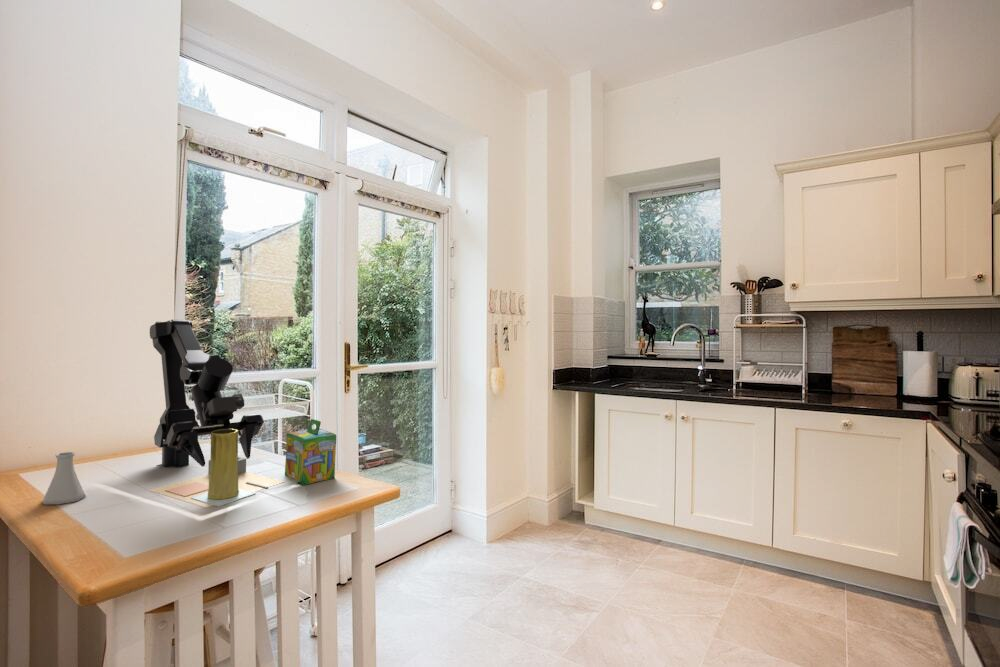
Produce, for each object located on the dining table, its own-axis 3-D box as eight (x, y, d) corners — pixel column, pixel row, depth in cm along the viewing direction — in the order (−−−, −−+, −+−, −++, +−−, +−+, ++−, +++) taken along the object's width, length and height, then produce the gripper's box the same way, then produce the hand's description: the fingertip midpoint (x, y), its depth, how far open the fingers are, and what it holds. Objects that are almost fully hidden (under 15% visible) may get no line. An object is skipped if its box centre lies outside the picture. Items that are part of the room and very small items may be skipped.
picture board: (149, 493, 115) (149, 489, 115) (230, 471, 133) (230, 467, 133) (211, 512, 105) (211, 507, 105) (289, 485, 123) (289, 481, 123)
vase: (201, 499, 110) (202, 433, 109) (217, 489, 116) (218, 427, 115) (229, 500, 110) (231, 434, 109) (244, 491, 116) (245, 428, 115)
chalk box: (283, 477, 129) (285, 419, 129) (317, 470, 136) (318, 415, 136) (302, 486, 123) (303, 425, 123) (336, 478, 130) (337, 421, 130)
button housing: (208, 474, 127) (208, 460, 127) (230, 468, 133) (230, 455, 132) (224, 478, 125) (224, 464, 124) (245, 472, 130) (246, 458, 130)
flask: (36, 507, 105) (37, 459, 104) (48, 496, 111) (48, 450, 111) (81, 503, 108) (81, 456, 108) (90, 492, 114) (90, 448, 114)
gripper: (171, 385, 108) (188, 447, 101) (261, 380, 121) (281, 434, 114) (160, 416, 113) (174, 477, 106) (247, 408, 127) (265, 461, 120)
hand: (226, 461), depth 111 cm, fingers open, 9 cm apart
